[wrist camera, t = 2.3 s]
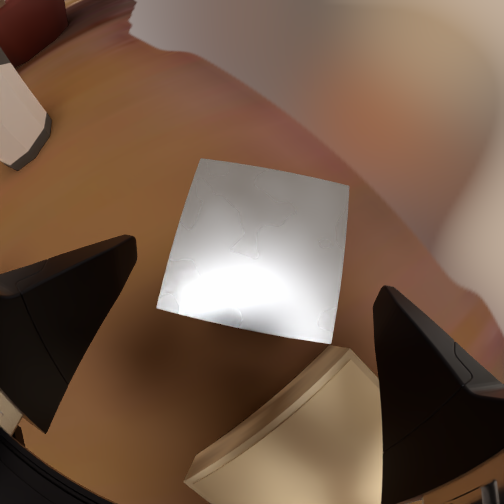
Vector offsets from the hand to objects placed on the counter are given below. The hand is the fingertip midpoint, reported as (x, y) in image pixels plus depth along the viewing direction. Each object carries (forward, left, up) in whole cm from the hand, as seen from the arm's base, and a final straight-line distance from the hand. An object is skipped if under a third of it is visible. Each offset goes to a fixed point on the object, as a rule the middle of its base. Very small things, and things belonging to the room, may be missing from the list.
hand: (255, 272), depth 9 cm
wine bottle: (-8, +30, -9) cm, 33 cm away
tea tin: (+1, 0, -9) cm, 9 cm away
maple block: (-4, -12, -9) cm, 15 cm away
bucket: (-1, +73, -9) cm, 74 cm away
